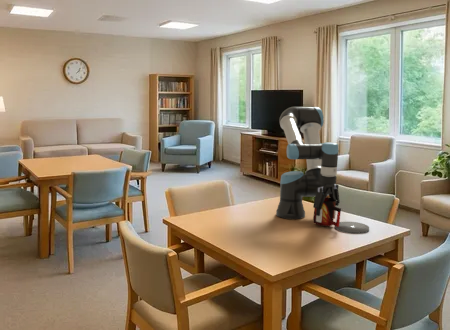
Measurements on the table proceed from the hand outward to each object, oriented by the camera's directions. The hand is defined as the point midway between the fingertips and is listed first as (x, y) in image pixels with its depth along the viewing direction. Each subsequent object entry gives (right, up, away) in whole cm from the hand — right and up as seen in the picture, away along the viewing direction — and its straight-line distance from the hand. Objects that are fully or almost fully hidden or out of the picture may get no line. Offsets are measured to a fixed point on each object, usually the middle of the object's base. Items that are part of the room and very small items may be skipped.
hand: (325, 219), depth 219 cm
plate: (+12, -4, -2) cm, 13 cm away
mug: (+1, -2, 0) cm, 2 cm away
